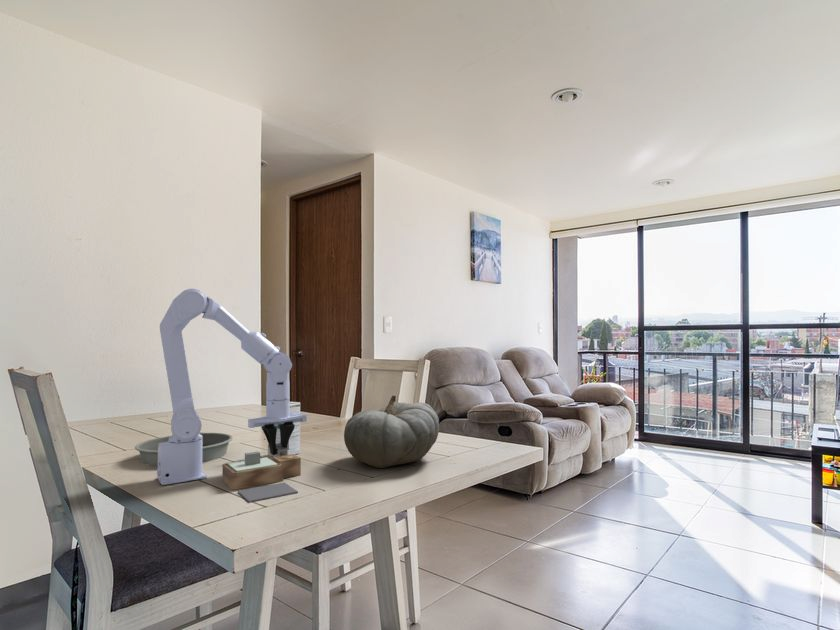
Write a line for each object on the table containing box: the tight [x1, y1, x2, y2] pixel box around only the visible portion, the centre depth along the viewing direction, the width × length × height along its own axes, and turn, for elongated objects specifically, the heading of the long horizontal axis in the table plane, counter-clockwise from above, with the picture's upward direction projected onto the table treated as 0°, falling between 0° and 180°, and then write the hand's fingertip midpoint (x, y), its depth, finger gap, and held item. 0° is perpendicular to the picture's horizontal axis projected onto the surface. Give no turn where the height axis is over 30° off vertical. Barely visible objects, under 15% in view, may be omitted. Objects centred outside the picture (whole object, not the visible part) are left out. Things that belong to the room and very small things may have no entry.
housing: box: [221, 454, 302, 491], centre depth 114 cm, size 16×10×4 cm, turn 125°
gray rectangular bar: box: [267, 443, 287, 459], centre depth 126 cm, size 9×2×3 cm, turn 35°
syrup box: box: [272, 401, 301, 456], centre depth 138 cm, size 6×6×14 cm
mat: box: [238, 481, 299, 503], centre depth 104 cm, size 10×8×1 cm
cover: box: [227, 451, 278, 472], centre depth 113 cm, size 9×8×3 cm
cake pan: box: [134, 432, 234, 467], centre depth 138 cm, size 25×25×4 cm
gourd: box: [343, 395, 440, 469], centre depth 129 cm, size 25×25×17 cm
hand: (278, 453), depth 126 cm, fingers closed on gray rectangular bar, 2 cm apart
